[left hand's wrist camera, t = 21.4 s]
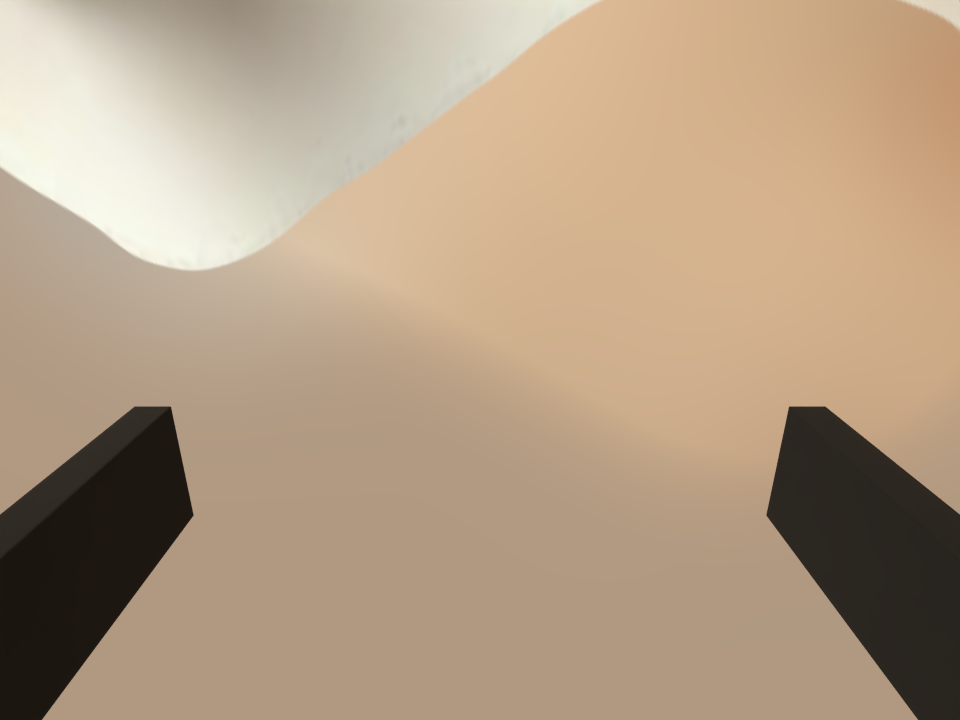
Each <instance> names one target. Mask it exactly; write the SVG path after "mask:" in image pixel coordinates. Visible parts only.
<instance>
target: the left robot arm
mask: <svg viewBox="0 0 960 720" xmlns="http://www.w3.org/2000/svg"><path fill="white" fill-rule="evenodd" d="M192 517H193V511H192V506H191V501H190V496H189V492H188V487H187V482H186V477H185V472H184V467H183V463H182V458H181V453H180V448H179V443H178V439H177V434H176V429H175V425H174V420H173V415H172V410H171V407H134V408H133V409H131V410H130V411H129V412H127V413H126V414H125V415H124V416H122V417H121V418H120V419H119V420H117V421H116V422H115V423H114V424H113V425H111V426H110V427H109V428H108V429H106V430H105V431H104V432H103V433H101V434H100V435H99V436H98V437H96V438H95V439H94V440H93V441H91V442H90V443H89V444H88V445H86V446H85V447H84V448H83V449H81V450H80V451H79V452H78V453H76V454H75V455H74V456H73V457H71V458H70V459H69V460H68V461H66V462H65V463H64V464H63V465H61V466H60V467H59V468H58V469H57V470H55V471H54V472H53V473H51V474H50V475H49V476H48V477H46V478H45V479H44V480H43V481H42V482H40V483H39V484H38V485H37V486H35V487H34V488H33V489H32V490H30V491H29V492H28V493H27V494H25V495H24V496H23V497H22V498H20V499H19V500H18V501H17V502H15V503H14V504H13V505H12V506H10V507H9V508H8V509H7V510H5V511H4V512H3V513H2V514H0V720H42V719H43V718H44V716H45V715H46V713H47V712H48V711H49V709H50V708H51V707H52V705H53V704H54V703H55V701H56V700H57V699H58V697H59V696H60V695H61V693H62V692H63V691H64V689H65V688H66V686H67V685H68V684H69V682H70V681H71V680H72V678H73V677H74V676H75V674H76V673H77V672H78V670H79V669H80V668H81V666H82V665H83V664H84V662H85V661H86V660H87V658H88V657H89V656H90V654H91V653H92V651H93V650H94V649H95V647H96V646H97V645H98V643H99V642H100V641H101V639H102V638H103V637H104V635H105V634H106V633H107V631H108V630H109V629H110V627H111V626H112V625H113V623H114V622H115V621H116V619H117V618H118V616H119V615H120V614H121V612H122V611H123V610H124V608H125V607H126V606H127V604H128V603H129V602H130V600H131V599H132V598H133V596H134V595H135V594H136V592H137V591H138V590H139V588H140V587H141V585H142V584H143V583H144V581H145V580H146V579H147V577H148V576H149V575H150V573H151V572H152V571H153V569H154V568H155V567H156V565H157V564H158V563H159V561H160V560H161V559H162V557H163V556H164V554H165V553H166V552H167V550H168V549H169V548H170V546H171V545H172V544H173V542H174V541H175V540H176V538H177V537H178V536H179V534H180V533H181V532H182V530H183V529H184V528H185V526H186V525H187V523H188V522H189V521H190V519H191V518H192ZM767 517H768V518H769V519H770V521H771V522H772V524H773V525H774V526H775V528H776V529H777V530H778V532H779V533H780V534H781V536H782V537H783V538H784V540H785V541H786V542H787V544H788V545H789V546H790V548H791V549H792V550H793V552H794V553H795V555H796V556H797V557H798V559H799V560H800V561H801V563H802V564H803V565H804V567H805V568H806V569H807V571H808V572H809V573H810V575H811V576H812V577H813V579H814V580H815V581H816V583H817V584H818V585H819V587H820V588H821V589H822V591H823V592H824V594H825V595H826V596H827V598H828V599H829V600H830V602H831V603H832V604H833V606H834V607H835V608H836V610H837V611H838V612H839V614H840V615H841V616H842V618H843V619H844V621H845V622H846V623H847V625H848V626H849V627H850V629H851V630H852V631H853V633H854V634H855V635H856V637H857V638H858V639H859V641H860V642H861V643H862V645H863V646H864V647H865V649H866V650H867V651H868V653H869V654H870V655H871V657H872V658H873V660H874V661H875V662H876V664H877V665H878V666H879V668H880V669H881V670H882V672H883V673H884V674H885V676H886V677H887V678H888V680H889V681H890V682H891V684H892V685H893V687H894V688H895V689H896V691H897V692H898V693H899V695H900V696H901V697H902V699H903V700H904V701H905V703H906V704H907V705H908V707H909V708H910V709H911V711H912V712H913V713H914V715H915V716H916V718H917V719H918V720H960V514H958V513H957V512H956V511H955V510H953V509H952V508H951V507H950V506H948V505H947V504H946V503H945V502H943V501H942V500H941V499H940V498H938V497H937V496H936V495H935V494H933V493H932V492H931V491H930V490H928V489H927V488H926V487H925V486H923V485H922V484H921V483H920V482H919V481H917V480H916V479H915V478H914V477H912V476H911V475H910V474H908V473H907V472H906V471H905V470H904V469H902V468H901V467H900V466H899V465H897V464H896V463H895V462H894V461H892V460H891V459H890V458H889V457H887V456H886V455H885V454H884V453H882V452H881V451H880V450H879V449H877V448H876V447H875V446H874V445H872V444H871V443H870V442H869V441H867V440H866V439H865V438H864V437H862V436H861V435H860V434H859V433H857V432H856V431H855V430H854V429H852V428H851V427H850V426H849V425H847V424H846V423H845V422H844V421H843V420H841V419H840V418H839V417H837V416H836V415H835V414H834V413H832V412H831V411H830V410H829V409H828V408H826V407H789V410H788V415H787V420H786V424H785V429H784V434H783V439H782V443H781V448H780V453H779V458H778V463H777V468H776V472H775V477H774V482H773V487H772V491H771V496H770V501H769V506H768V510H767Z"/></svg>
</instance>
